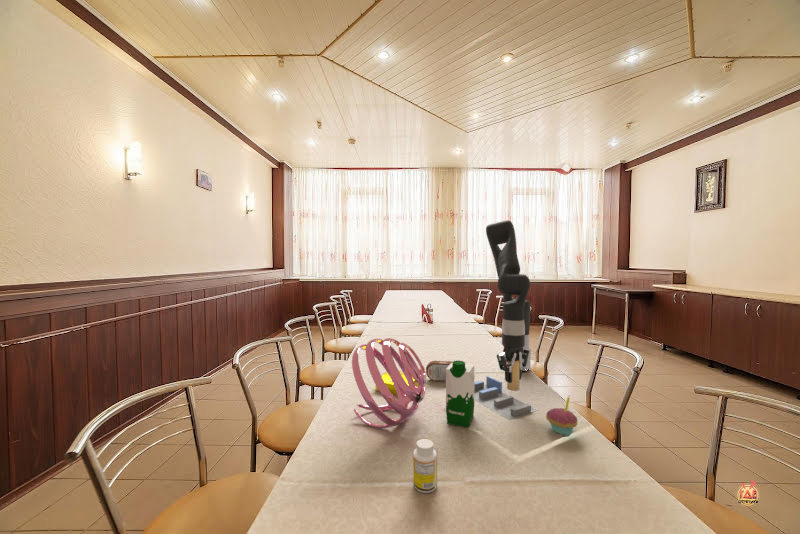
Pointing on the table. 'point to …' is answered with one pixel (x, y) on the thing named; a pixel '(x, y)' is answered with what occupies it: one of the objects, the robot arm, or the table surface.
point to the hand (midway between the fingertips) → (513, 380)
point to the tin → (437, 370)
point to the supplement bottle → (425, 466)
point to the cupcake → (562, 419)
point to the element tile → (390, 383)
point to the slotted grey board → (499, 399)
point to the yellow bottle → (514, 377)
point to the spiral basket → (403, 389)
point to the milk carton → (459, 393)
